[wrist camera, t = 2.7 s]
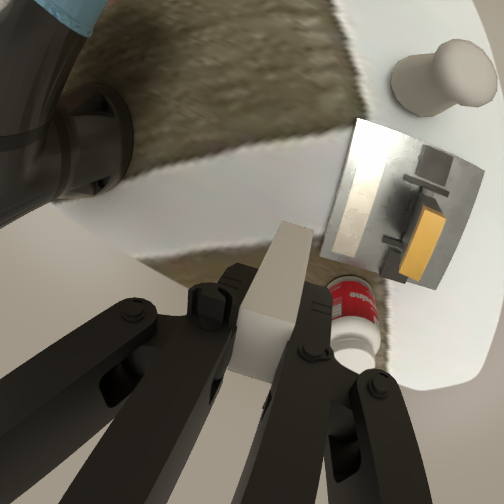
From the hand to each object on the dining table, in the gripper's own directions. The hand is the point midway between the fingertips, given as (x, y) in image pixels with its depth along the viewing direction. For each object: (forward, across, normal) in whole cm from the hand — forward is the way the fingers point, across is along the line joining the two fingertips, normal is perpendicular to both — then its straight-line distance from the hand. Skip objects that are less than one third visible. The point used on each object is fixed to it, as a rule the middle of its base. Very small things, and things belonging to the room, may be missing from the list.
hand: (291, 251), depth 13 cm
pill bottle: (+16, +8, -12) cm, 22 cm away
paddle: (+13, +11, 0) cm, 17 cm away
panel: (+16, +10, 0) cm, 19 cm away
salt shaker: (+16, +8, +12) cm, 22 cm away
